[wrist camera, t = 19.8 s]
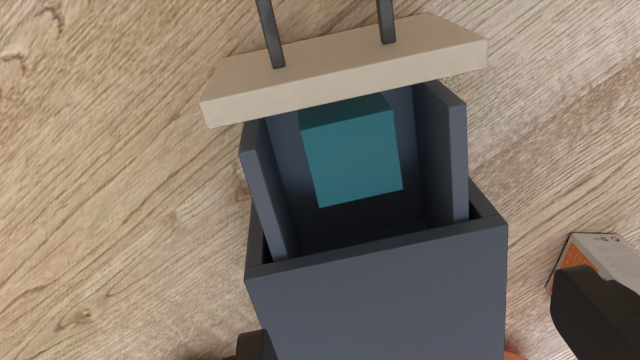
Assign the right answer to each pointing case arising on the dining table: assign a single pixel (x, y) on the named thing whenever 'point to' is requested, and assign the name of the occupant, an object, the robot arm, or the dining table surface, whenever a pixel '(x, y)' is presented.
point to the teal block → (351, 149)
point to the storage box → (388, 293)
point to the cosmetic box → (602, 258)
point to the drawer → (339, 84)
